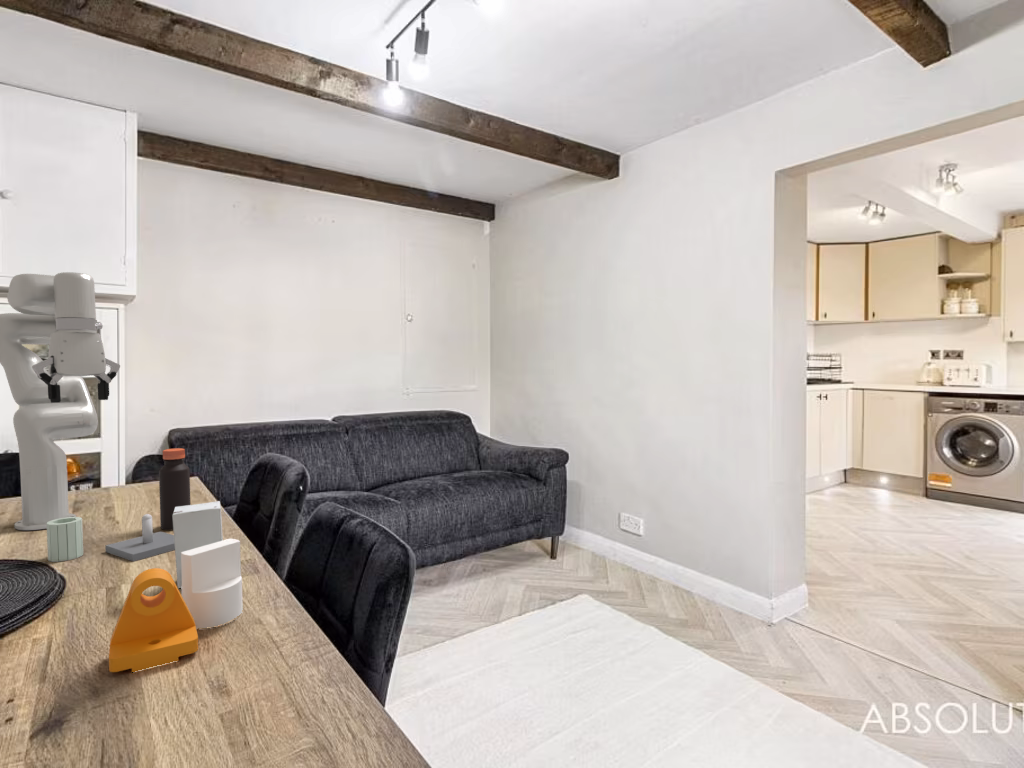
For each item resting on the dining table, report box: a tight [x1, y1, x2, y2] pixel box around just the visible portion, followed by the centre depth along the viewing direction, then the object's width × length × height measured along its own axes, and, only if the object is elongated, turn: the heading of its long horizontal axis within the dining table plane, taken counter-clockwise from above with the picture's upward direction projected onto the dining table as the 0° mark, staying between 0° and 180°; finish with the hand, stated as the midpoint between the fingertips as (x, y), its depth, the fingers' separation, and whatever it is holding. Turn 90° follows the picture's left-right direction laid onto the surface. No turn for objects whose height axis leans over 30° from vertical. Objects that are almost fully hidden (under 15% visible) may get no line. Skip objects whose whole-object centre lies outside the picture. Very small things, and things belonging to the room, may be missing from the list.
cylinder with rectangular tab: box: [180, 538, 244, 628], centre depth 97 cm, size 9×9×12 cm
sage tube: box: [46, 516, 84, 563], centre depth 127 cm, size 6×6×8 cm
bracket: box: [108, 567, 199, 673], centre depth 84 cm, size 11×7×12 cm, turn 123°
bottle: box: [158, 447, 192, 531], centre depth 149 cm, size 7×7×20 cm
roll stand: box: [104, 513, 175, 562], centre depth 132 cm, size 12×12×8 cm
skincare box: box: [172, 500, 224, 590], centre depth 112 cm, size 8×6×15 cm
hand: (80, 401), depth 134 cm, fingers open, 9 cm apart
